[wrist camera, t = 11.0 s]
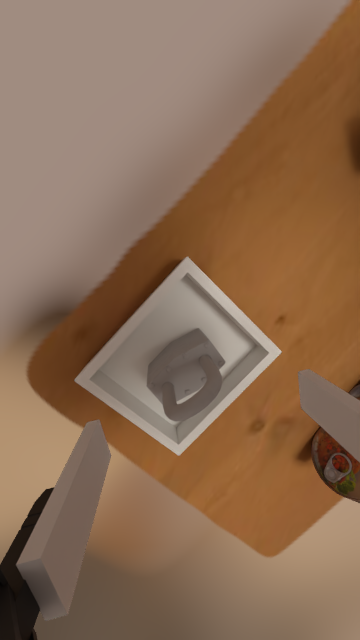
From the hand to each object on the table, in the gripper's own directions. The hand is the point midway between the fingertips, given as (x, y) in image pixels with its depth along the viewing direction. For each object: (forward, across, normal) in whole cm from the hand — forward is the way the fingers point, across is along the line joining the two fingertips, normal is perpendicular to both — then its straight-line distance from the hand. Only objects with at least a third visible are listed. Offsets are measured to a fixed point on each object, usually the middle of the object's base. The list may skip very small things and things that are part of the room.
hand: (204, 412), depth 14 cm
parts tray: (+11, +1, 0) cm, 11 cm away
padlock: (+11, +1, 0) cm, 11 cm away
